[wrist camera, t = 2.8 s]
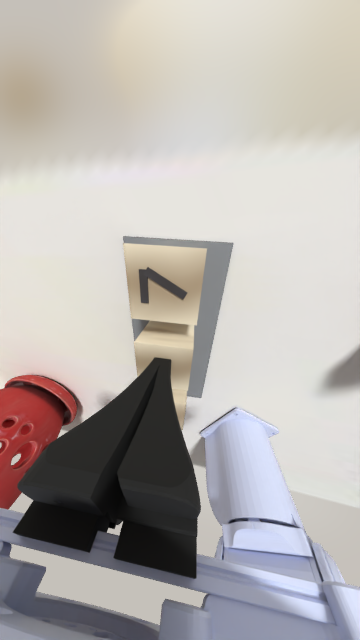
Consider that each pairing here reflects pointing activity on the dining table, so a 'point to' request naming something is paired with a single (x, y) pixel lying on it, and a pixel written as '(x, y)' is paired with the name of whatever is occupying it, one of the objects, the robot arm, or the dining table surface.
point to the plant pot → (29, 426)
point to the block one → (180, 404)
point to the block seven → (164, 282)
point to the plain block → (167, 349)
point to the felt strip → (208, 306)
